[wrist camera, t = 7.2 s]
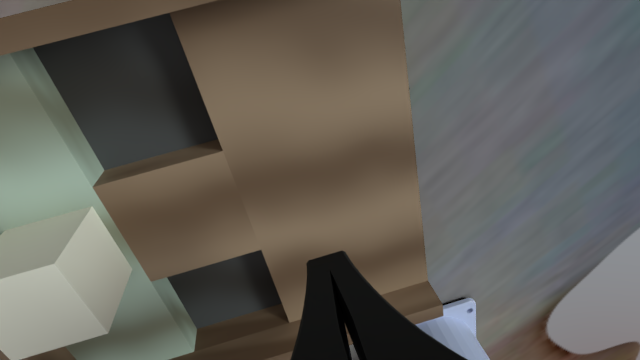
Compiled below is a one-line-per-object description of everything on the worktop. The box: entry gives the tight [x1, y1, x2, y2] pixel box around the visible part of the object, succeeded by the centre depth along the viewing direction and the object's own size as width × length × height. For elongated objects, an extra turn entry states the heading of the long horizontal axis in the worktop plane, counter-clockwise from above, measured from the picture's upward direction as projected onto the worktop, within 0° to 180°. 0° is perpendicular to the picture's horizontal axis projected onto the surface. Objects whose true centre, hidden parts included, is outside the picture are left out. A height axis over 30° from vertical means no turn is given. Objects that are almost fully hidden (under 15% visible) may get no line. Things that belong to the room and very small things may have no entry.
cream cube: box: [0, 206, 132, 360], centre depth 16 cm, size 4×4×4 cm
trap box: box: [0, 0, 443, 360], centre depth 18 cm, size 20×22×4 cm
